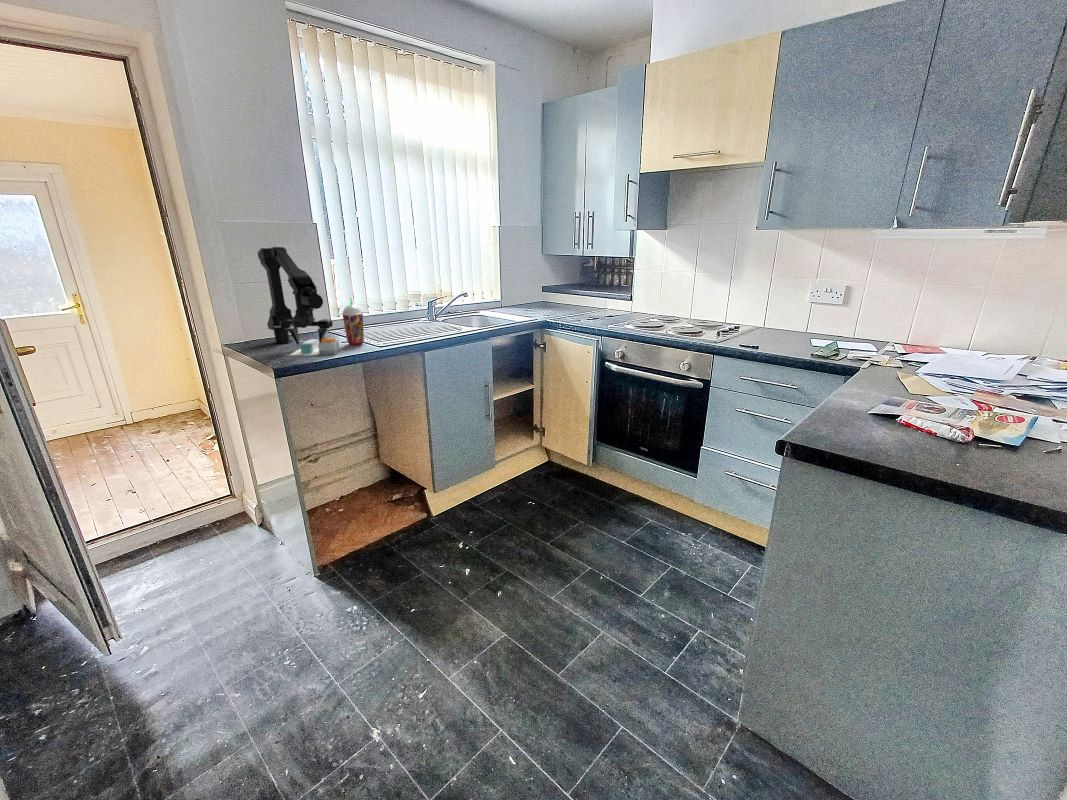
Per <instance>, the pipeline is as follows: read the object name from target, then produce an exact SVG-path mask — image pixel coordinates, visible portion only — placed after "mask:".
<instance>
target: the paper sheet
mask: <svg viewBox="0 0 1067 800" xmlns="http://www.w3.org/2000/svg"><path fill="white" fill-rule="evenodd" d="M318 355H320V354H319V349H317V350H315V351H314V352H312V353H301V348H299V349H297V350H295V351H294V352H292V353H290V354H289V356H318Z"/></svg>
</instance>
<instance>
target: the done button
mask: <svg viewBox="0 0 1067 800" xmlns="http://www.w3.org/2000/svg"><path fill="white" fill-rule="evenodd" d="M335 338H336V337H335V336H333V337H332V336H330V337H329V336H326V337H325V336H324V338H322V339H321V343H334V342H335V340H336V339H335Z"/></svg>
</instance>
